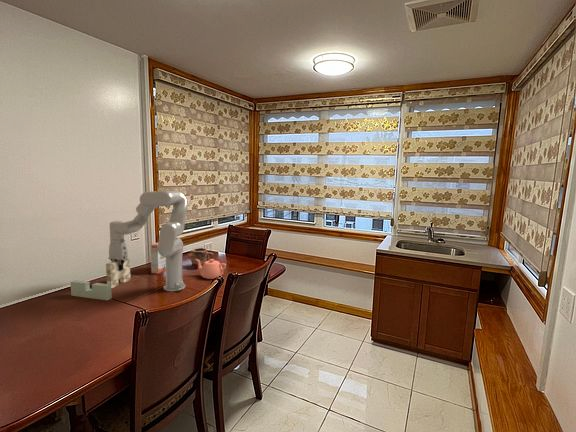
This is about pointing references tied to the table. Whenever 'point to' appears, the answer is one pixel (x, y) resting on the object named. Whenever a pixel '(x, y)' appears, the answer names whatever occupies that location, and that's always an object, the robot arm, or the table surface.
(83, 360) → the table surface
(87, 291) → the slotted base
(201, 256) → the decorative planter
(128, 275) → the maple plate
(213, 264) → the teapot
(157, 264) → the cracker box
